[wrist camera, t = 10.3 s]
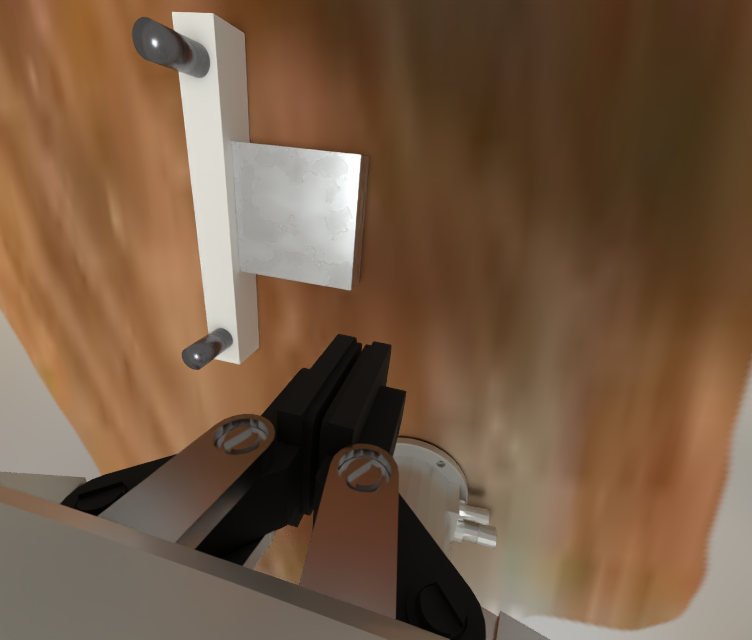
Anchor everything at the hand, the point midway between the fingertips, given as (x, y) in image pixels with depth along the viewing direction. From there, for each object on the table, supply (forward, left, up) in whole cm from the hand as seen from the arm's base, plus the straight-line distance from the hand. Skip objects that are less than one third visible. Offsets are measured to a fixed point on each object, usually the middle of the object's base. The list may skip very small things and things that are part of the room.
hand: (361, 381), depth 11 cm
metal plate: (+10, -2, -20) cm, 22 cm away
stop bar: (+17, -1, -19) cm, 26 cm away
